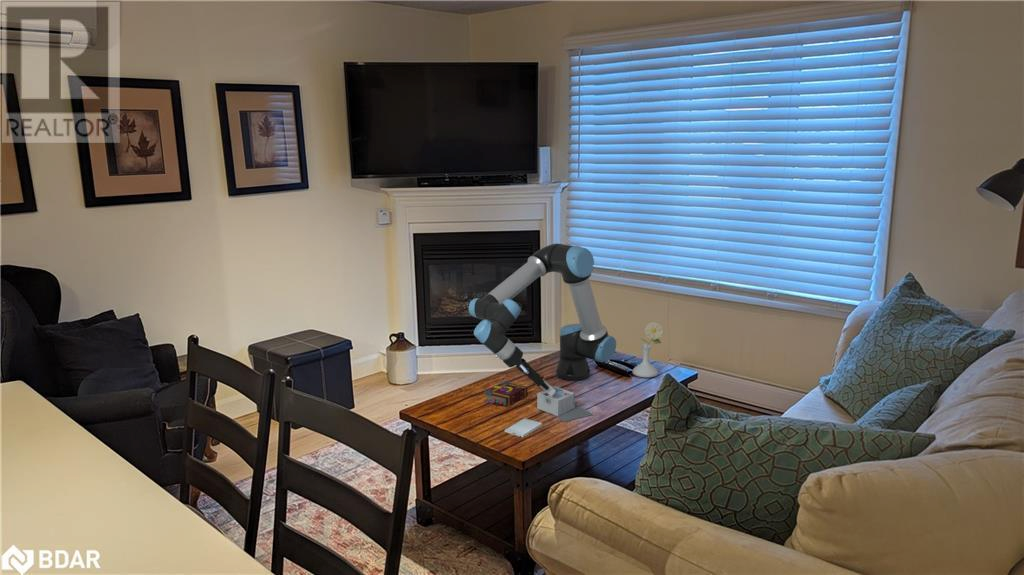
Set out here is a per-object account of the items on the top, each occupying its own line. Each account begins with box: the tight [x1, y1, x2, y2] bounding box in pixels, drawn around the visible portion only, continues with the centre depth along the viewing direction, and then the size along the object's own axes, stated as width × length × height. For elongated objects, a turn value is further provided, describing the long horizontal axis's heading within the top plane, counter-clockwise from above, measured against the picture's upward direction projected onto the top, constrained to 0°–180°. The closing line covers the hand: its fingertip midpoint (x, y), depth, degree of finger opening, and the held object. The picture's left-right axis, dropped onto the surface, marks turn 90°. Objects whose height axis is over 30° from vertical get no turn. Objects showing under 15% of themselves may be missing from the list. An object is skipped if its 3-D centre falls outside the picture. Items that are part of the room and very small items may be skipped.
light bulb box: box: [536, 385, 576, 417], centre depth 269 cm, size 11×7×11 cm
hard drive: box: [504, 418, 543, 438], centre depth 252 cm, size 2×8×12 cm
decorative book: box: [483, 381, 528, 408], centre depth 280 cm, size 11×16×5 cm
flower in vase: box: [631, 321, 664, 379], centre depth 304 cm, size 13×11×25 cm
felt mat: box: [553, 403, 594, 423], centre depth 268 cm, size 13×16×1 cm
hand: (553, 393), depth 261 cm, fingers closed
